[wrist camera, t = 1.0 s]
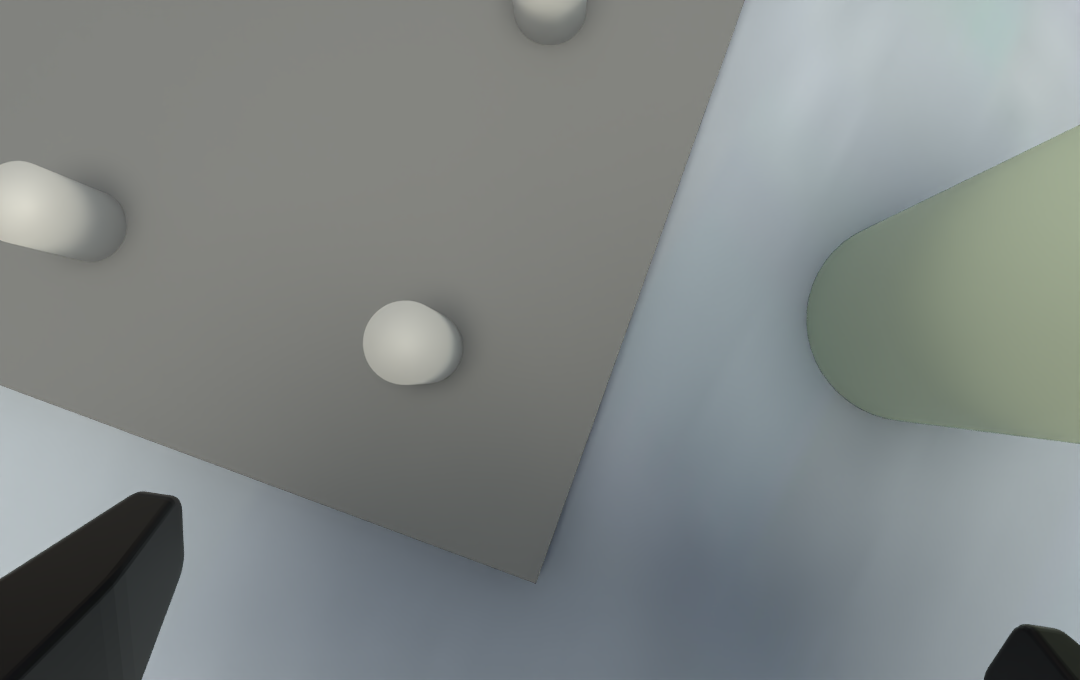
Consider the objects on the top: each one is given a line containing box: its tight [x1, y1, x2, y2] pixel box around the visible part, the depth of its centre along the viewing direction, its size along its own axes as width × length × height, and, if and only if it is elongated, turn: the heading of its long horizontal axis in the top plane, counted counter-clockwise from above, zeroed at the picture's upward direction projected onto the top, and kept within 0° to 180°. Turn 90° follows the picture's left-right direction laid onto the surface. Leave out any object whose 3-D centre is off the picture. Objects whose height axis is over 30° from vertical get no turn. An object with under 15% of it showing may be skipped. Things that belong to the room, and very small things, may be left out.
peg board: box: [0, 0, 745, 583], centre depth 21 cm, size 18×18×4 cm
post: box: [807, 125, 1080, 444], centre depth 16 cm, size 5×5×12 cm
